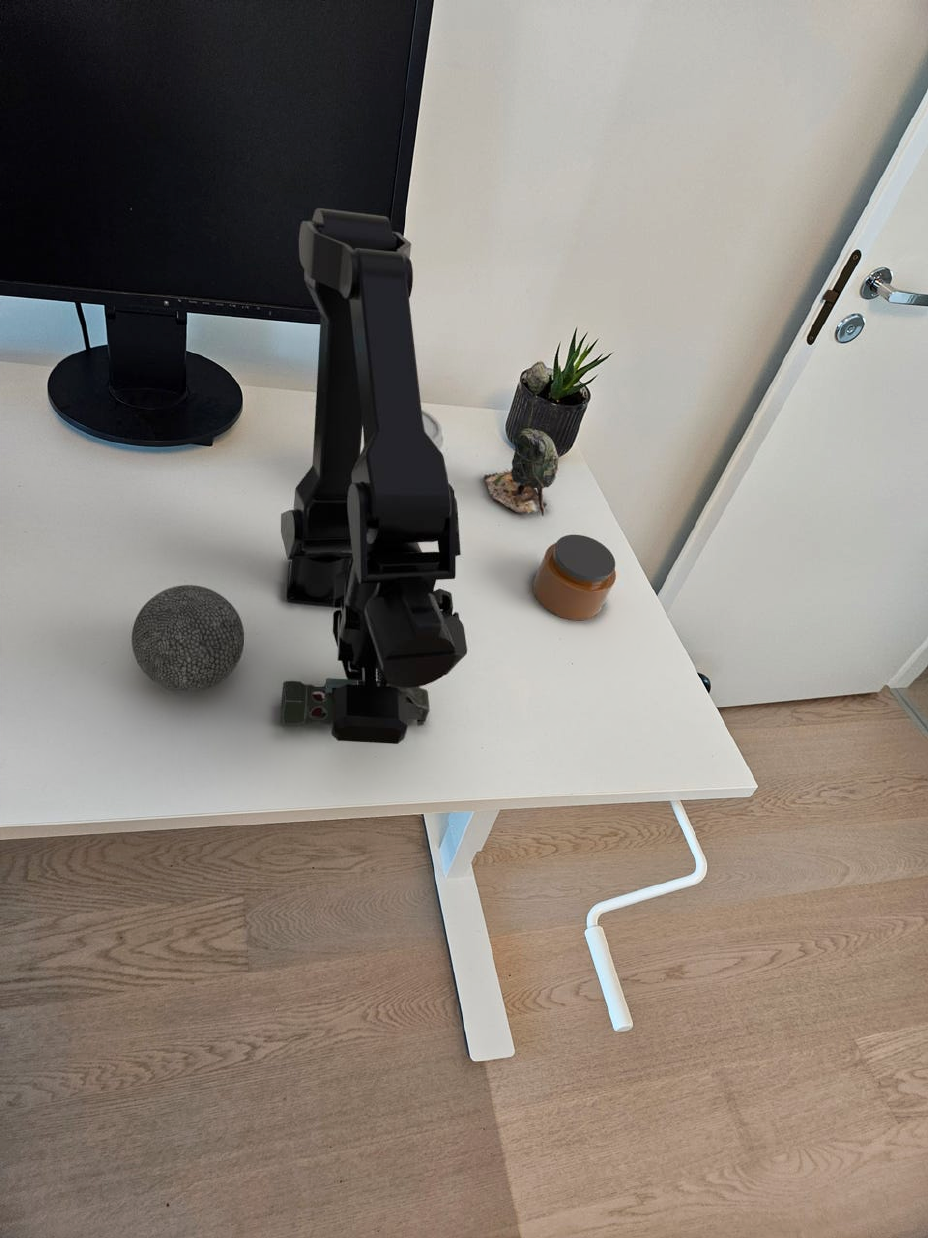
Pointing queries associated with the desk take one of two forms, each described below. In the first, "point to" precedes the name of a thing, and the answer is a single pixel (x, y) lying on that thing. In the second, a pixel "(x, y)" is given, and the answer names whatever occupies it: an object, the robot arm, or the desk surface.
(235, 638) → the decorative ball
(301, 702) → the stun grenade
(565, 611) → the jar
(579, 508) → the desk surface
